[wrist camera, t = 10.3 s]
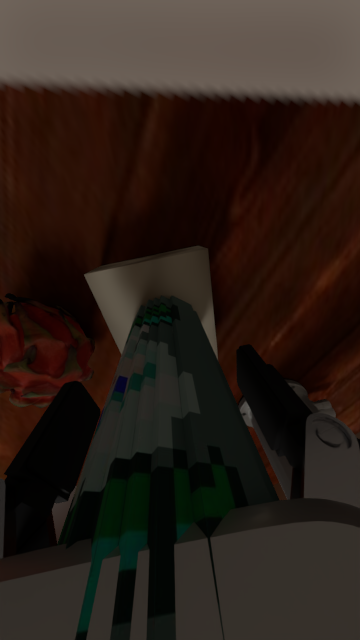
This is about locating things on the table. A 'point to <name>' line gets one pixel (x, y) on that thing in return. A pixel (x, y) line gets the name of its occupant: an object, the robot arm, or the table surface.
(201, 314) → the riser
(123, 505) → the can
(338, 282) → the table surface
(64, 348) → the dragon fruit
